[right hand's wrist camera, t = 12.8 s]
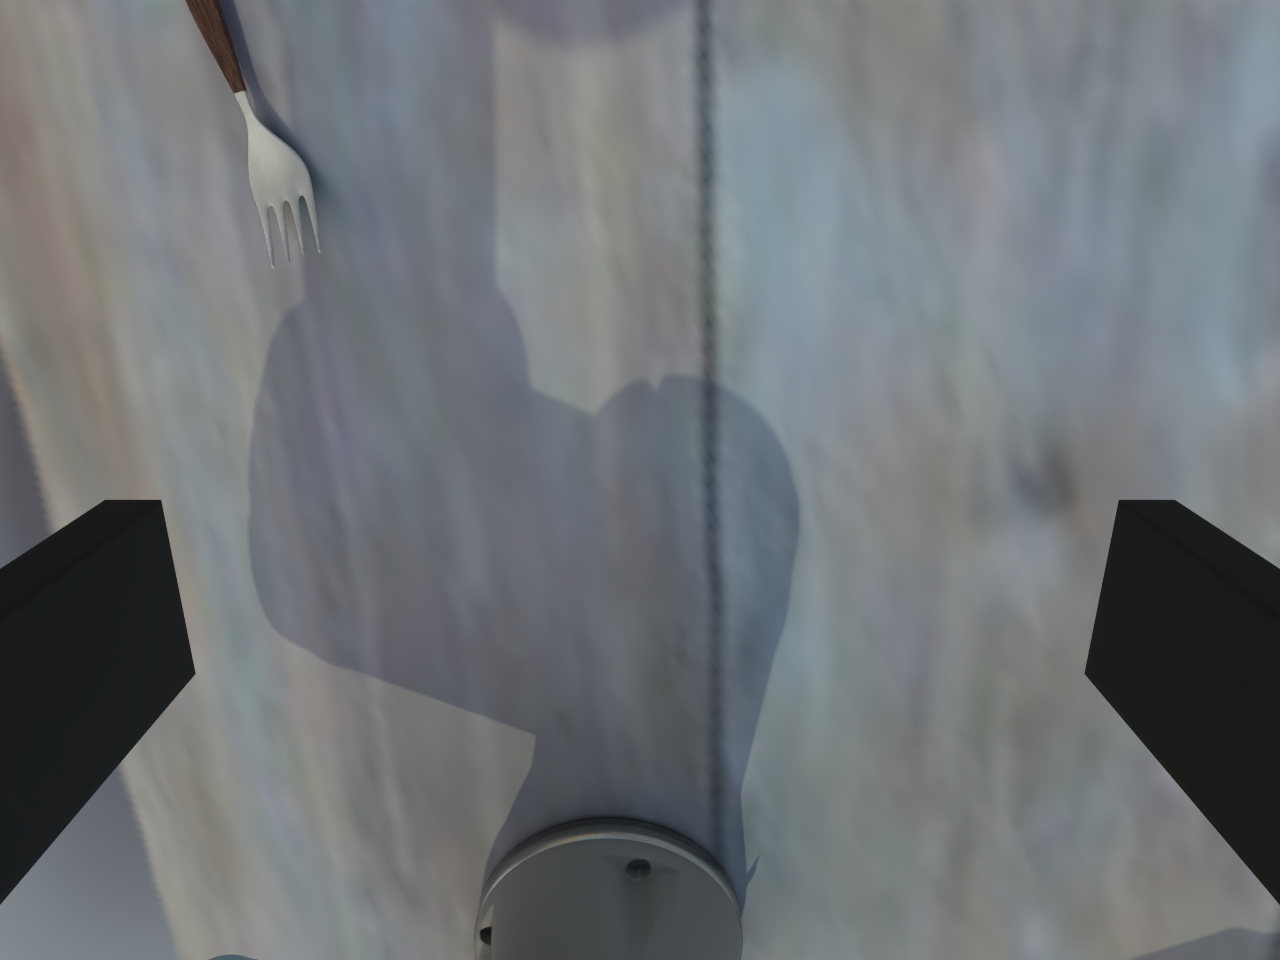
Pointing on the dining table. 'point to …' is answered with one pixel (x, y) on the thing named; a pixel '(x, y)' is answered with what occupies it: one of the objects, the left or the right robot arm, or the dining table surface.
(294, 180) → the fork
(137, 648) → the right robot arm
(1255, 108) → the dining table surface
